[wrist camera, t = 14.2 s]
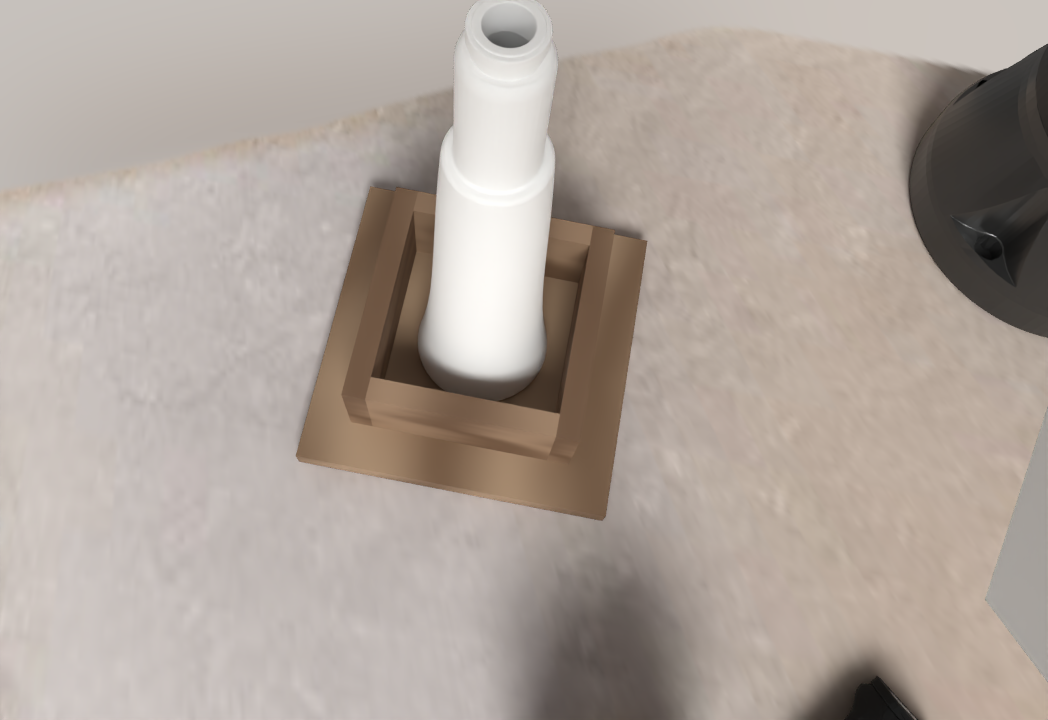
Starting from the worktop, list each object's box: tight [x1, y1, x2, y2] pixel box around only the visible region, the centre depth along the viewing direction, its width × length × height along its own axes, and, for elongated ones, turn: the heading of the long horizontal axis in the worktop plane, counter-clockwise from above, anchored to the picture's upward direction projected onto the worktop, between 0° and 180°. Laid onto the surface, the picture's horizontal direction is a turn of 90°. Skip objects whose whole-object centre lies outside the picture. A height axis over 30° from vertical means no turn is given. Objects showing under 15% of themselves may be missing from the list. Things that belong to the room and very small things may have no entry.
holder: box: [296, 186, 647, 521], centre depth 43 cm, size 14×14×5 cm
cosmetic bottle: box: [418, 0, 558, 401], centre depth 34 cm, size 6×6×22 cm
